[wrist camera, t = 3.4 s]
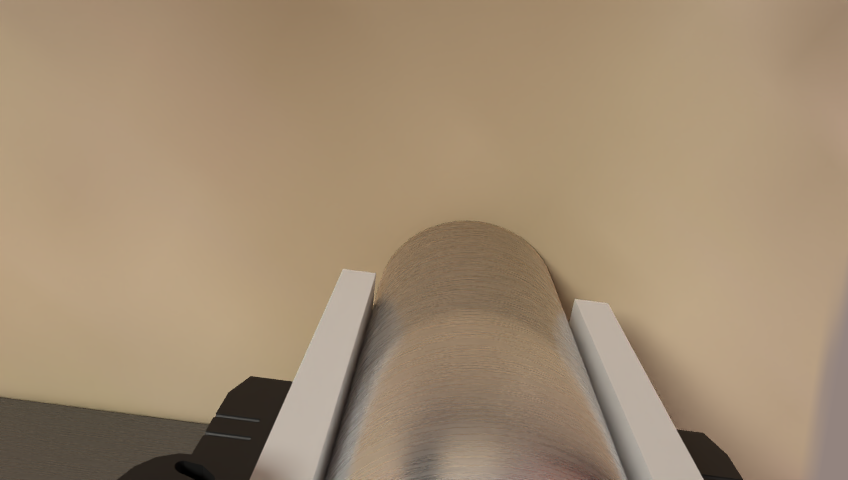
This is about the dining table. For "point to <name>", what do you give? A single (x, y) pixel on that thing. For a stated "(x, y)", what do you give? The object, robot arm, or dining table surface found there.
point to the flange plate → (84, 441)
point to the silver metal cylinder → (470, 370)
